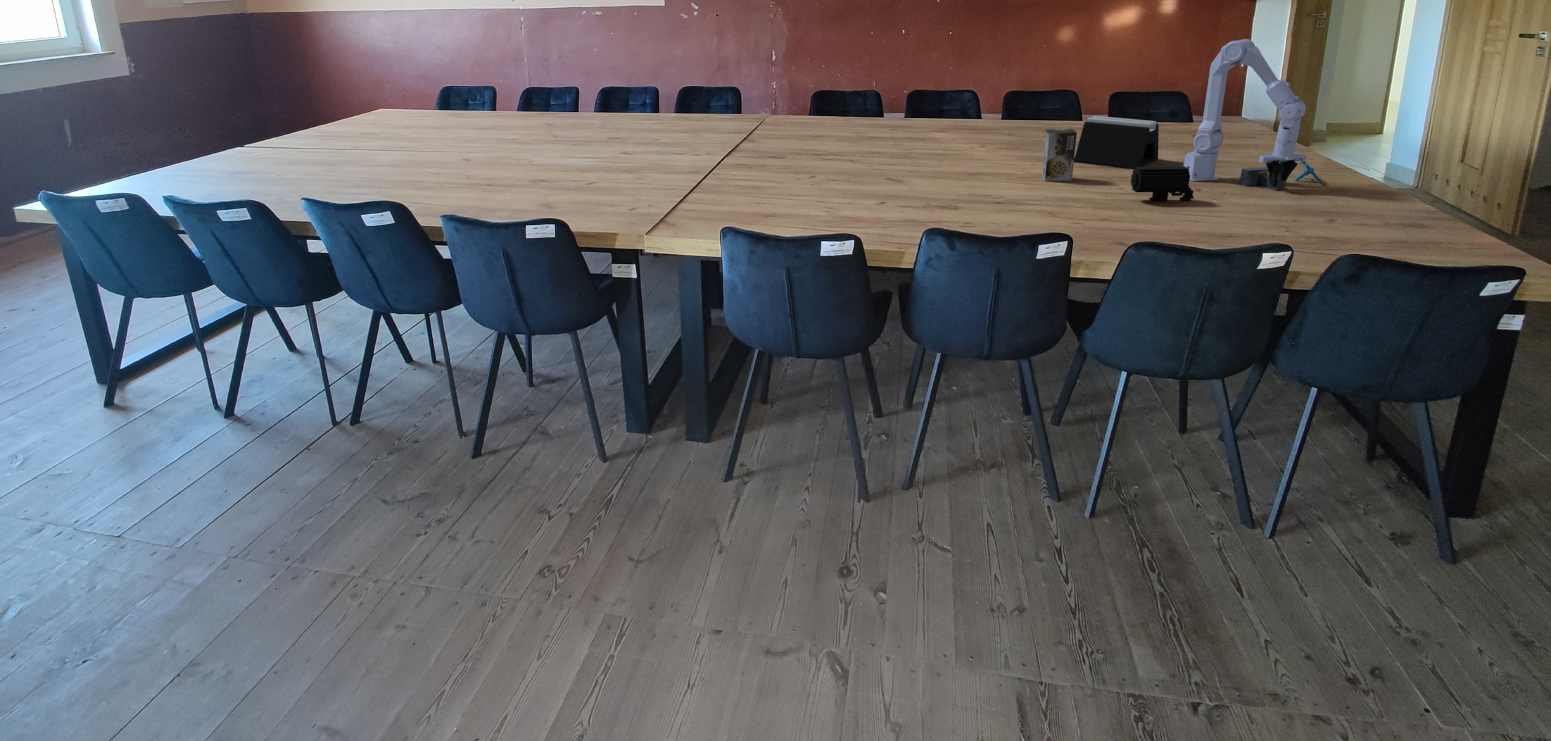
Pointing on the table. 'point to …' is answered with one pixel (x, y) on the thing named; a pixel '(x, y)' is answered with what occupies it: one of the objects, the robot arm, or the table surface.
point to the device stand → (1118, 142)
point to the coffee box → (1059, 154)
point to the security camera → (1162, 182)
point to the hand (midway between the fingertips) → (1276, 184)
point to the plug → (1264, 181)
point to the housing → (1251, 176)
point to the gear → (1307, 172)
